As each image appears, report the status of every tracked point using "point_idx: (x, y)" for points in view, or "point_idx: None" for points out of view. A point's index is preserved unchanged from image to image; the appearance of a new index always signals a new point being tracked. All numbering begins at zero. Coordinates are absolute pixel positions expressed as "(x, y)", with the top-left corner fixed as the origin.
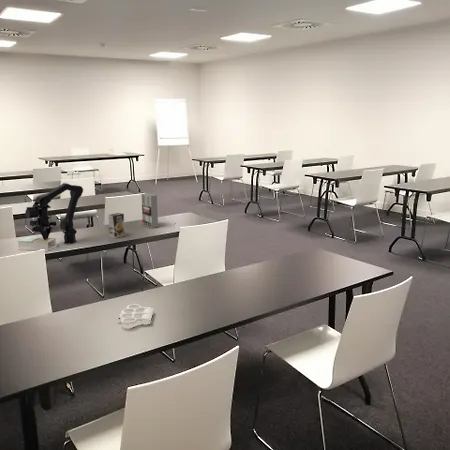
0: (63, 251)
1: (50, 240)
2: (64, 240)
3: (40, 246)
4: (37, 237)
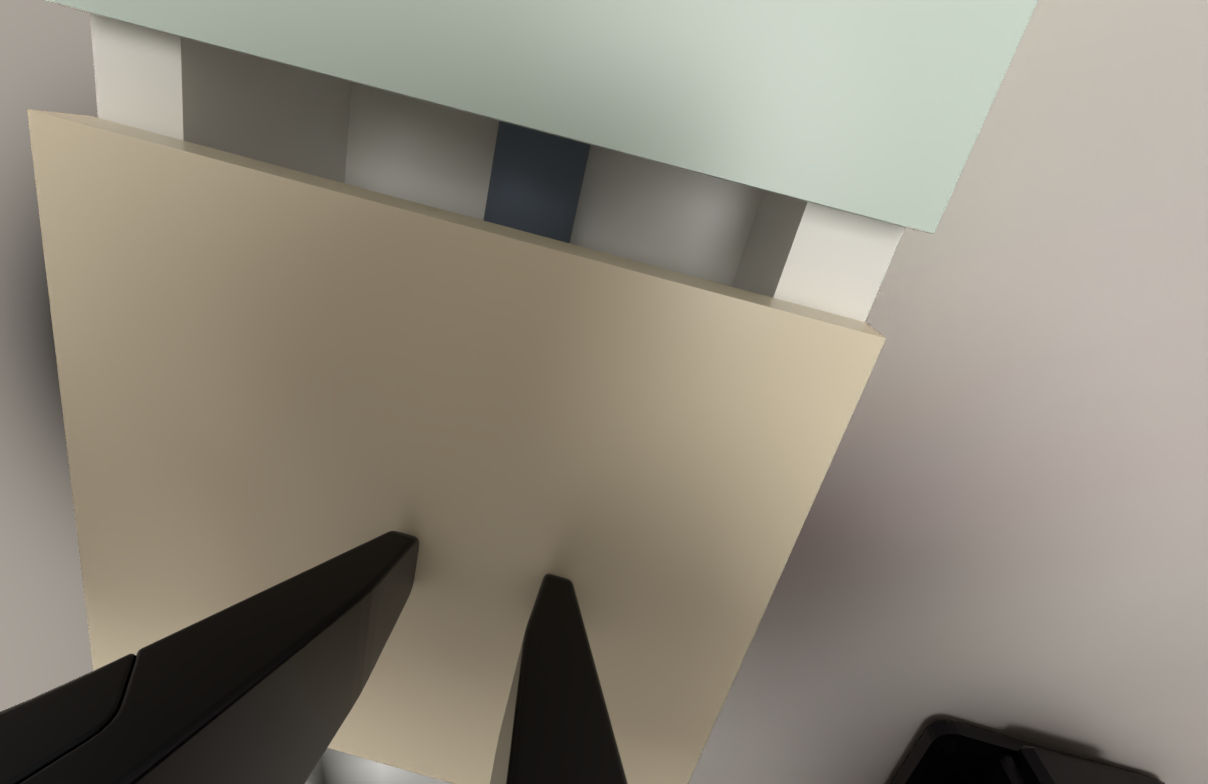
0: (318, 765)
1: (330, 745)
2: (1034, 779)
3: None
4: (920, 24)
